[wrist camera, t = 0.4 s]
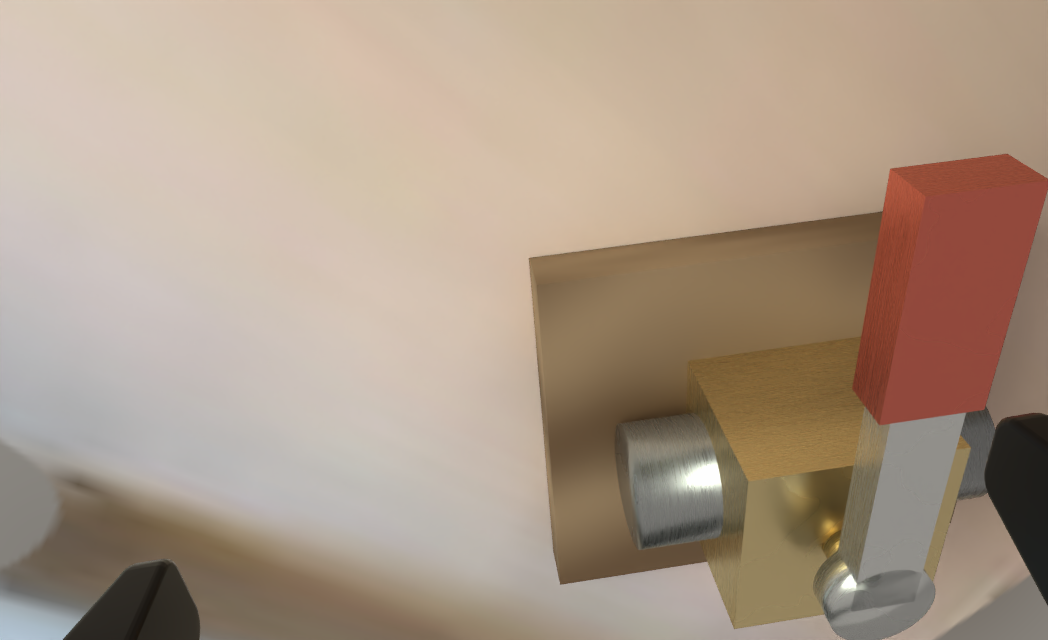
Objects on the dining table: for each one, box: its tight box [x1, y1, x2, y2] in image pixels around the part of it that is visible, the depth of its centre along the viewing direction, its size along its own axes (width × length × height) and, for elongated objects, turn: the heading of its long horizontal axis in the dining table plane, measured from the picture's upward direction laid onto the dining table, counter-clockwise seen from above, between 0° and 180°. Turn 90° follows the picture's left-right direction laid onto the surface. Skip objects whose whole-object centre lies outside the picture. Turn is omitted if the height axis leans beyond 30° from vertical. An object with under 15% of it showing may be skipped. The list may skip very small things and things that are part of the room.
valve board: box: [529, 212, 957, 585], centre depth 27 cm, size 12×14×2 cm
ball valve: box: [615, 336, 995, 629], centre depth 24 cm, size 6×10×6 cm, turn 94°
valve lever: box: [813, 154, 1048, 640], centre depth 18 cm, size 12×3×1 cm, turn 4°
